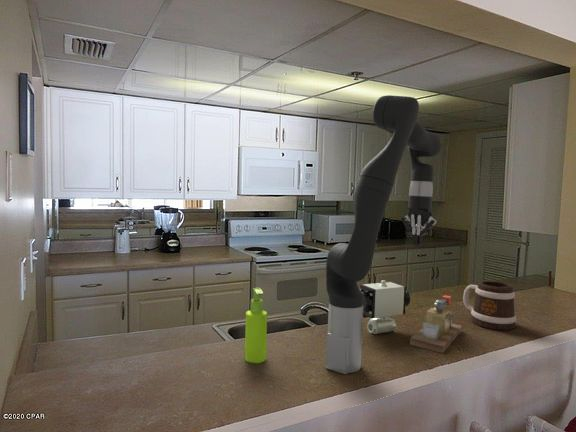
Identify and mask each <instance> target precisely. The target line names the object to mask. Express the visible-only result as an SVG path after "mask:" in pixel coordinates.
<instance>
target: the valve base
mask: <svg viewBox="0 0 576 432" xmlns="http://www.w3.org/2000/svg"><path fill="white" fill-rule="evenodd" d="M462 330H463V326H462V325H460V324H456V323H455V324H454V323H452V324H451V327H449V332H448V333H447V334H446V335H445V336H440V337H439V338H438V341H433V340H429V339H425V338H422V332H423V327H422V328H421V329H420V330H418V331H417V332H415V333H414V334H413V335H412V336H411V337H410V338H409V346H413V347H418V348H420V349H421V348H422V349H425V350H430V351H434V352H438V353H442V354H444V352H445V351H446V350H447V349H448V348H449V346H450V345H451V344H452V343H453V342H454V341H455V340H456V338H457V337H458V336H459V335H460V334H461V333H462V332H463V331H462Z"/></svg>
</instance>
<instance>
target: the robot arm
mask: <svg viewBox="0 0 576 432" xmlns="http://www.w3.org/2000/svg"><path fill="white" fill-rule="evenodd" d="M419 104H420V103H419V100H418V99H417V98H416V97H414V96H413V97H411V96H404V95H391V94H390V95H388V94H387V95H383V96H382V95H381V96H380V97H378V98H377V100H376V101H375V102H374V106H373V108H372V121H373V124H374V125H375V126H376V127H377V128H379V129H381V130H383V131H385V132H388V133H390V134H392V135H391V137H390V140H389V141H388V143H386V145H385V146H384V148H383V149H382V150H380V152H378V154H377V155H375V156H374V157H373V158H371V160H370V161H369V162H368V163H367V164H366V165H365V166H364V167H363V168H362V170H361V172H360V174H359V177H358V181H357V183H356V187H355V189H354V193H353V208H354V209H353V210H354V225H353V230H352V232H351V235H350V239H349V240H348V241H349V242H348V243H346V242H339V243H336V244H335V245H333V246H332V247H331V248H330V249H329V251H328V254H327V258H326V264H325V265H326V271H325V272H326V273H325V274H326V275H325V276H326V281H325V282H326V284H325V285H326V292H327V295H328V313H327V314H328V317H327V333H326V341H325V343H326V346H325V369H328V370H330V371H333V372H337V373H340V374H343V375H347V374H350V373H351V374H352V373H356V372H358V371H360V370H361V365H362V346H363V345H362V344H363V342H362V341H363V323H364V322H363V319H364V314H363V302H364V297H363V294H362V292H361V291H360V287H359V286H358V283H357V282H361V281H362V280H363V279H364V278H366V276H367V275H368V274H369V271H370V270H371V266H372V263H373V259H374V254H375V249H376V246H377V240H378V236H379V231H380V228H381V225H382V222H383V218H384V215H385V212H386V209H387V206H388V202H389V200H390V197H391V195H392V190H393V188H394V184H395V181H396V177H397V174H398V170H399V167H400V165H401V164H400V163H401V161H402V158H403V155H404V152H405V151H406V148H407V150H408V155H409V156H408V157H409V159H410V161H409V162H410V166H411V167H410V168H411V173H410V183H409V190H408V191H409V192H408V206H407V207H408V208H407V209H408V211H407V213H406V215H405V216H403V217H401V221H402V224H403V225H404V227H405V229H406V230H407V232H408V233H410V234H412V244H413V246H414V247H420V246H422V244H423V236H424V235H427V234H428V235H429V233H430V232H431V231H432V229H433V228H435V226H436V225H437V224H438V220H437V219H435V218H434V217H433V216H432V205H433V192H434V188H433V187H434V186H433V181H434V180H433V179H434V166H433V165H431V164H429V163H425V162H422V161H421V160H420V158H422V157H423V158H428V157H429V158H432V157H435V156H438V154H440V152H441V150H442V142H441V140H440V138H439V136H438V135H437V134H435V133H433V132H431V131H428V130H426V129H425V128H424V127H423V126H422V125H421V124H420V123H419V122H417V121H418V120H417V119H418V117H419V113H420V112H419V111H420V110H419V109H420V106H419Z"/></svg>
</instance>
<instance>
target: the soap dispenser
mask: <svg viewBox="0 0 576 432" xmlns="http://www.w3.org/2000/svg"><path fill="white" fill-rule="evenodd" d="M252 291H253V298H252V299H250V310H247V311H246V312H245V335H244V337H245V338H244V344H245V345H244V360H245V361H246V362H247V363H250V364H251V363H252V364H260V363H263V362H265V361H266V359H267V337H268V336H267V334H268V333H267V328H268V311H266V310H264V306H263V305H264V300H263V299H262V298H261V295H264V292H263V291H264V290H263V289H262V288H261V287H252Z"/></svg>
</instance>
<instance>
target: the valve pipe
mask: <svg viewBox="0 0 576 432" xmlns="http://www.w3.org/2000/svg"><path fill="white" fill-rule="evenodd" d="M425 315H426V317H425V322H423V323H422V328H423V332H422V338H425V339H429V340H433V341H438V338H439V337H440V336H445V335H446V334H447V333H448V332H449V327H451V324H453V323H452V322H453V321H452V320H453V313H452V312H451V310H447V309H443V311H442V312H439V311H435V310H434V307H430V308H429V309H427V311H426V314H425Z"/></svg>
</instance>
